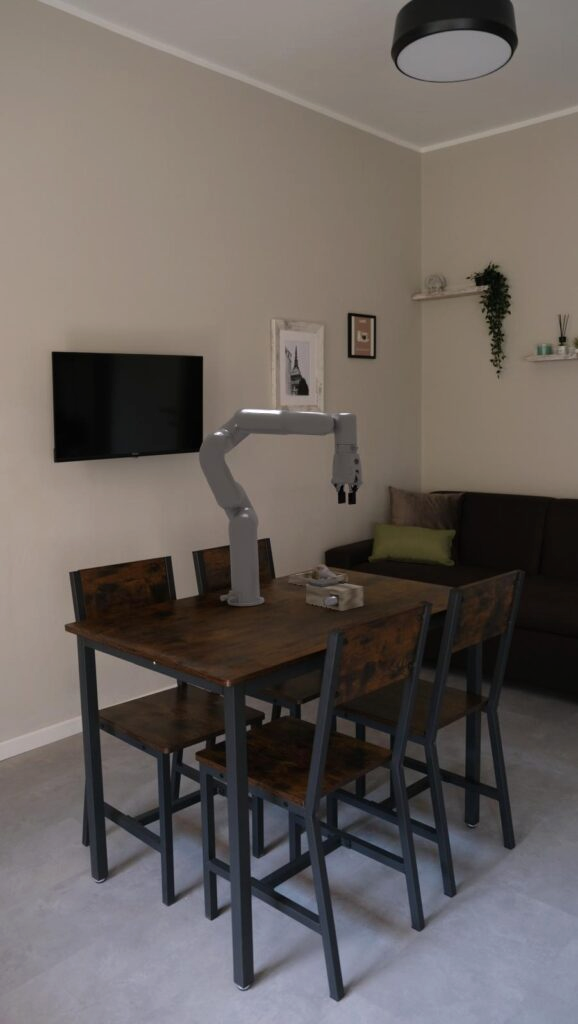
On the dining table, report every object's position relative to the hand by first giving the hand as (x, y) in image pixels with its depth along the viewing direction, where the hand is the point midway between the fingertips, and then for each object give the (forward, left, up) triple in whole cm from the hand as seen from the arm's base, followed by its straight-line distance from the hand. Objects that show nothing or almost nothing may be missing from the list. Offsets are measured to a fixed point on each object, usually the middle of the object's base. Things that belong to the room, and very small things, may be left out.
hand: (347, 503), depth 281 cm
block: (-8, -1, -33) cm, 34 cm away
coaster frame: (+14, +30, -33) cm, 47 cm away
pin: (-9, -6, -33) cm, 34 cm away
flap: (-9, +3, -27) cm, 28 cm away
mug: (+17, +29, -34) cm, 47 cm away
